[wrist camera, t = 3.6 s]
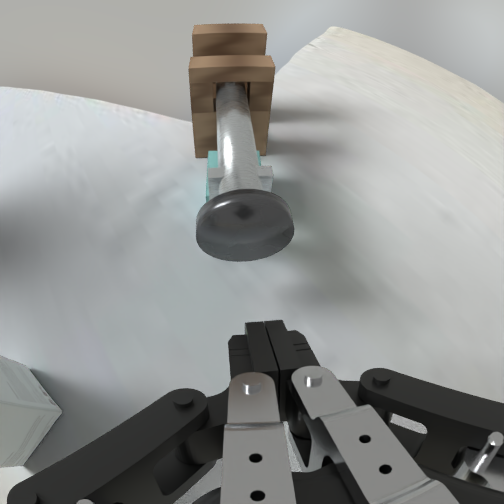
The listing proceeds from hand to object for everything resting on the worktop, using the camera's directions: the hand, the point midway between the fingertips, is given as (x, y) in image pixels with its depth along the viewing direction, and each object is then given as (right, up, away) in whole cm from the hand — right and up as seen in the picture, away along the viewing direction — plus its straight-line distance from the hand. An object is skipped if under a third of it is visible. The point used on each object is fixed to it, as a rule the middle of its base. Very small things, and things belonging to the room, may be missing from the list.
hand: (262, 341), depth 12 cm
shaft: (-2, +10, +18) cm, 21 cm away
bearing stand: (-3, +19, +25) cm, 32 cm away
